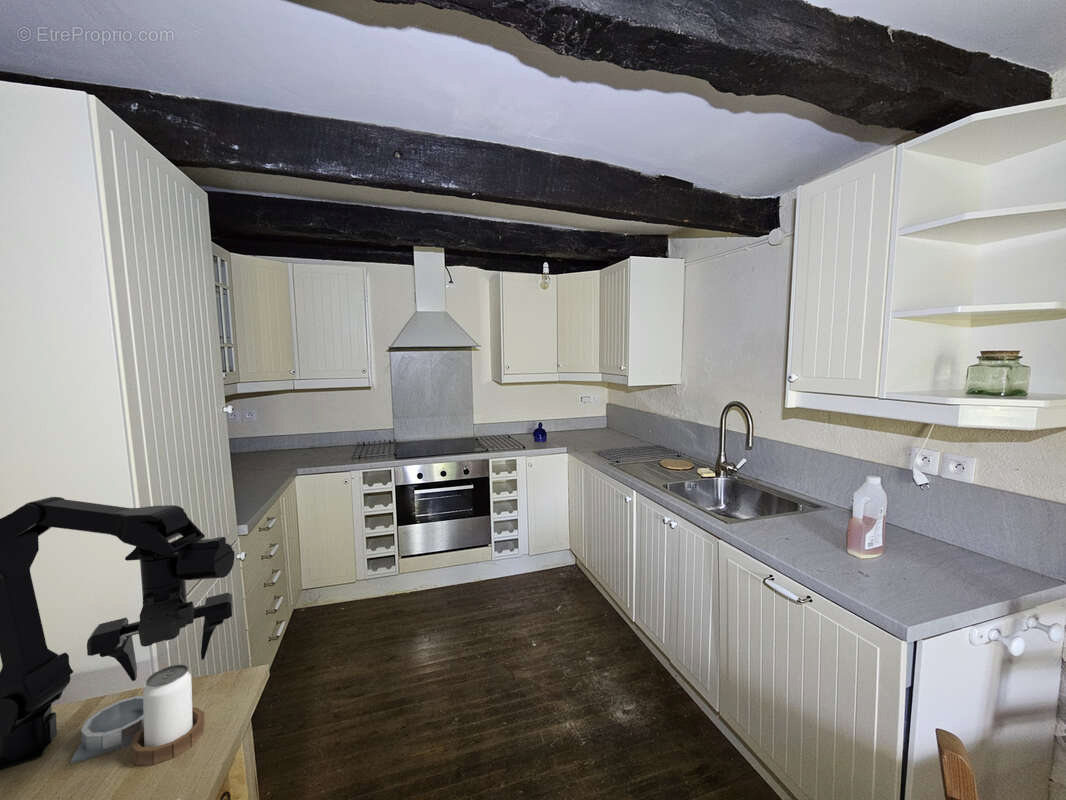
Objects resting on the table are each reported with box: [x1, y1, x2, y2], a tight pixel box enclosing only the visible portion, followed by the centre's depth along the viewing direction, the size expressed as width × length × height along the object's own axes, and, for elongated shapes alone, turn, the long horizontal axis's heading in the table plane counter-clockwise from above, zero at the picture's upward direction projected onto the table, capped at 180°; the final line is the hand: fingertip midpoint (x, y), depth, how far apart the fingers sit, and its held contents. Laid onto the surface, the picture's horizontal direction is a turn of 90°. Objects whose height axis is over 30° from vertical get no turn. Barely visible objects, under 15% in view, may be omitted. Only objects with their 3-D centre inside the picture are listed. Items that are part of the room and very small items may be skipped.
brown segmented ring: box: [130, 707, 205, 766], centre depth 75 cm, size 10×10×2 cm
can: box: [142, 664, 194, 747], centre depth 75 cm, size 6×6×12 cm
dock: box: [70, 695, 144, 765], centre depth 78 cm, size 10×10×3 cm
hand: (170, 668), depth 75 cm, fingers open, 9 cm apart
